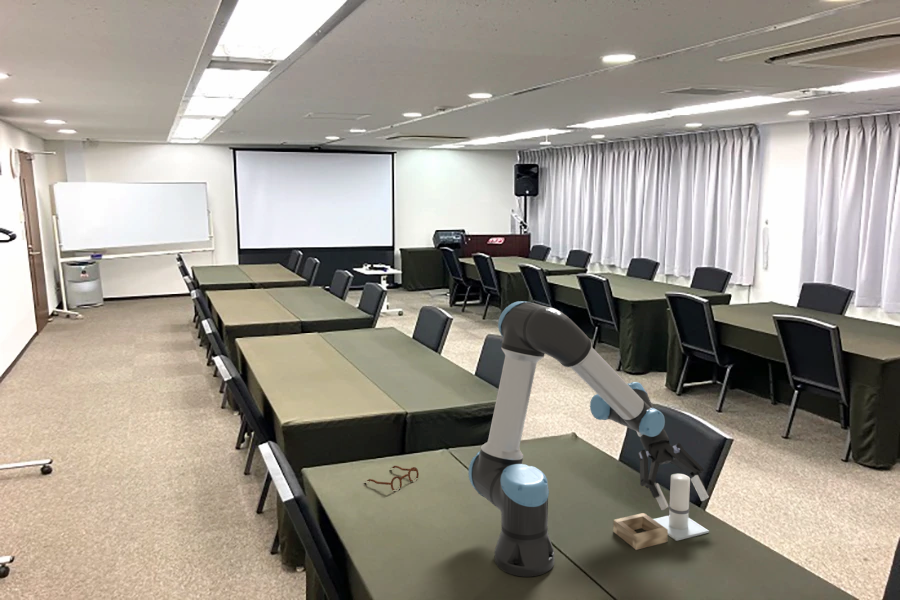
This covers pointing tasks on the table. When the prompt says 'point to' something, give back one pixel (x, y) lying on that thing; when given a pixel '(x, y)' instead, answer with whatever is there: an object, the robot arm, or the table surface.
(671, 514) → the white banded cylinder
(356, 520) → the table surface
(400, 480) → the glasses
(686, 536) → the pad
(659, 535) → the collar
